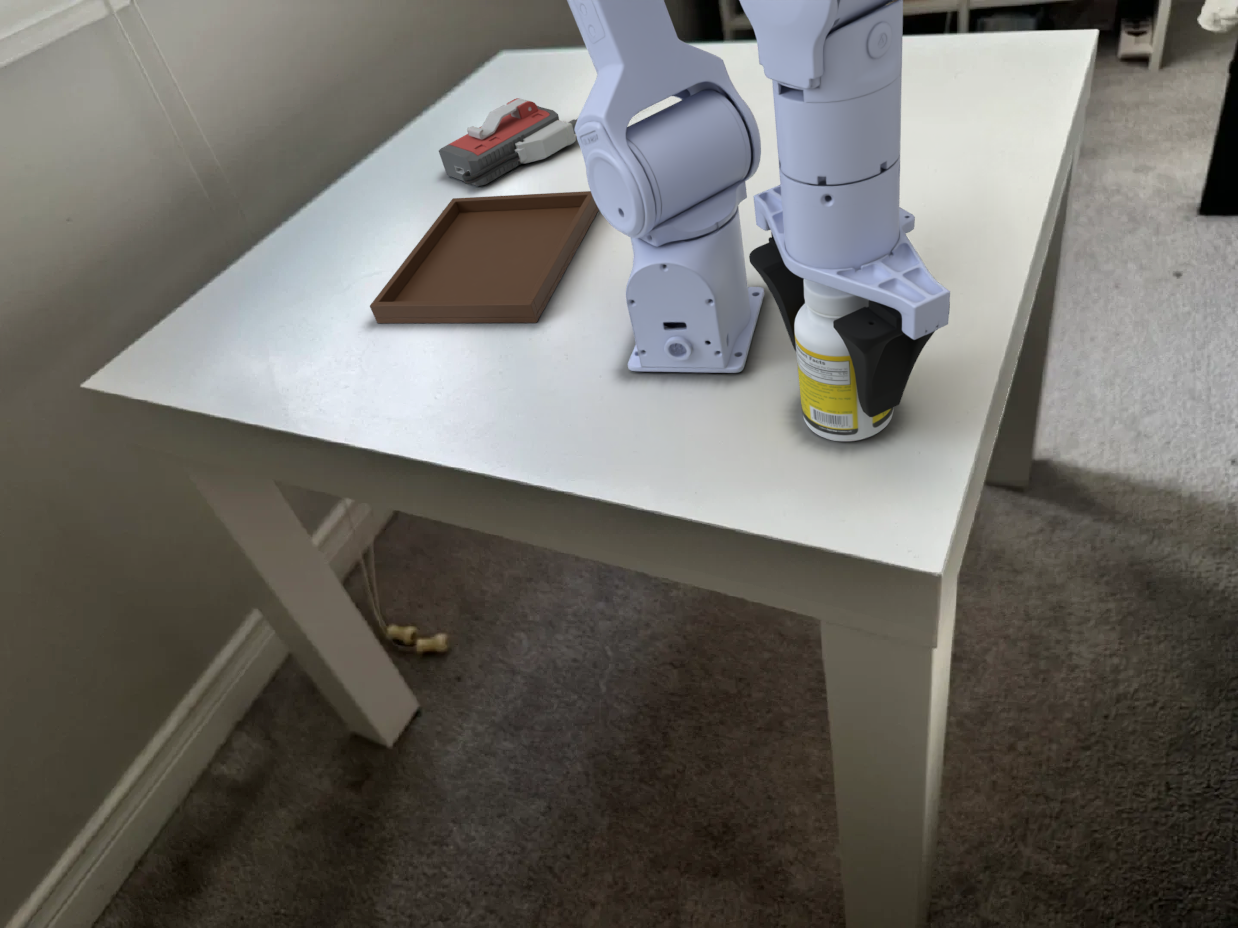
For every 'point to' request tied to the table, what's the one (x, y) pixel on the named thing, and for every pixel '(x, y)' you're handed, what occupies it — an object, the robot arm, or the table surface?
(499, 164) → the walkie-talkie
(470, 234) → the tray
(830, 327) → the supplement bottle
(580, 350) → the table surface
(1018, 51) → the table surface
